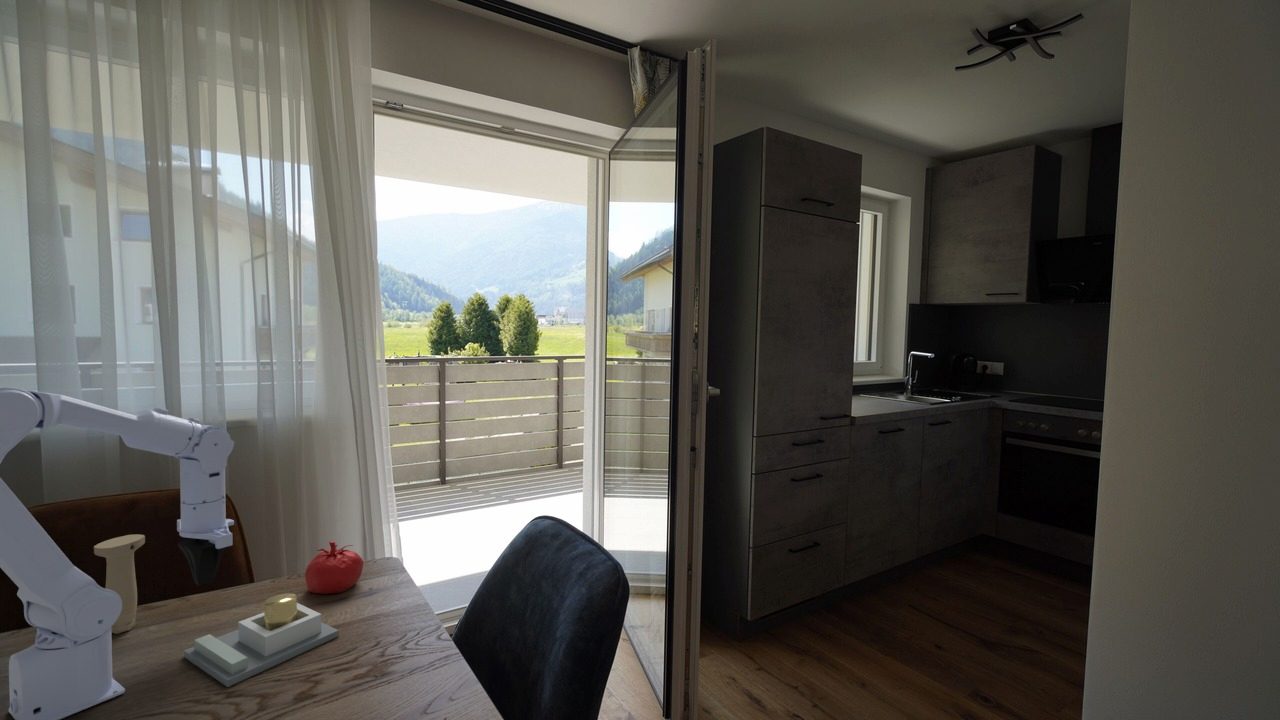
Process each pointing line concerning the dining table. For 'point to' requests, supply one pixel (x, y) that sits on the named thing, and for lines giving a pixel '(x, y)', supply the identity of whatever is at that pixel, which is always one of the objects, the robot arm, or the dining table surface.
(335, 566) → the red tomato
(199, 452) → the robot arm
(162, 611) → the dining table surface
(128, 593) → the handle
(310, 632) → the jig
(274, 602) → the brass cylinder
